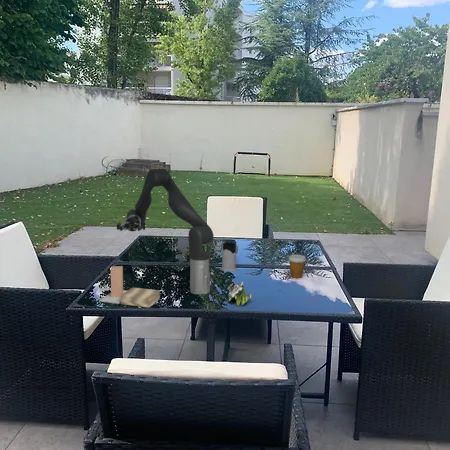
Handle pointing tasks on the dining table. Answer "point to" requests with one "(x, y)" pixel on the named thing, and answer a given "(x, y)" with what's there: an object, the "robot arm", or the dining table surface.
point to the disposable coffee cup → (296, 265)
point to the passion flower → (237, 290)
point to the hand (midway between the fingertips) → (129, 229)
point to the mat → (112, 298)
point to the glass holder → (229, 257)
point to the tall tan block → (116, 281)
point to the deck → (140, 297)
